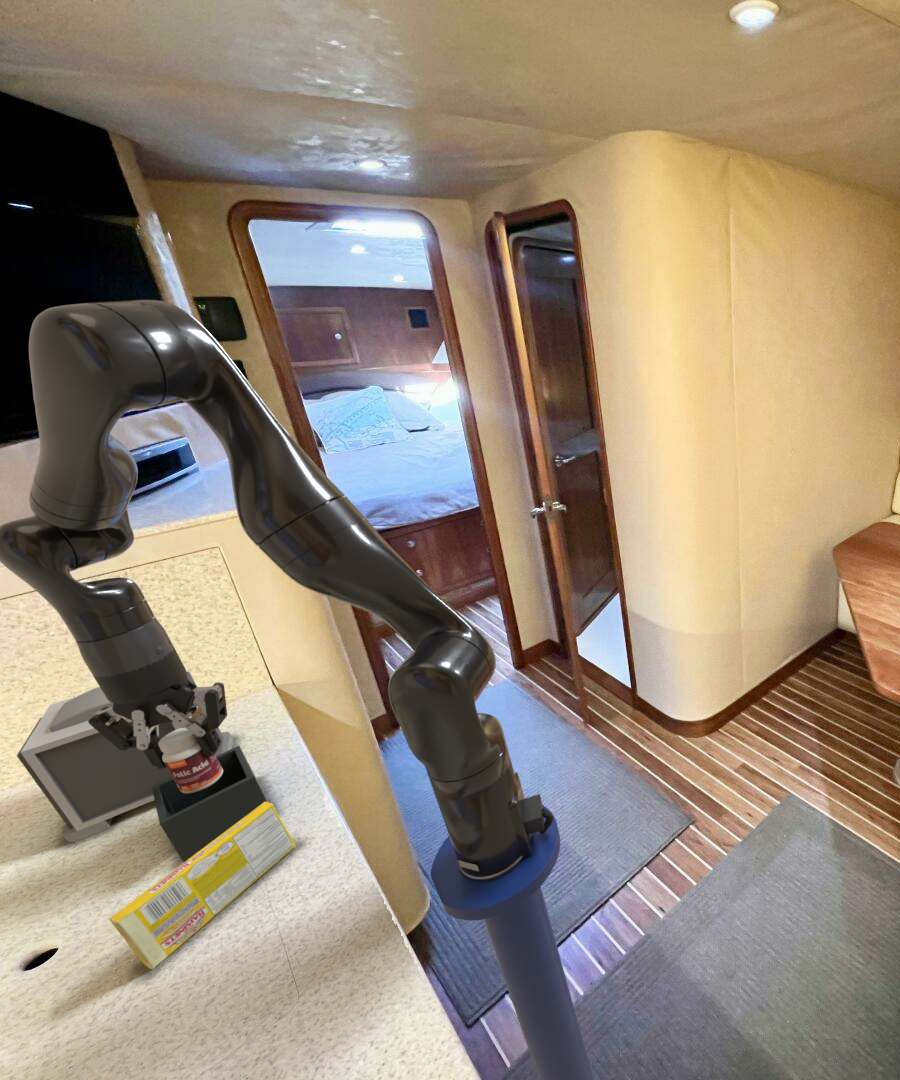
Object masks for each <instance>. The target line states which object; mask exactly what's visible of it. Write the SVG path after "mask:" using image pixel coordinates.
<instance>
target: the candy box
mask: <svg viewBox="0 0 900 1080" xmlns="http://www.w3.org/2000/svg"><path fill="white" fill-rule="evenodd" d="M296 848H297V845H296V842H295V841H294V839H293V837H292V836H291V834H290V833H289V831H288V830H287V827H286V826H285V824H284V822H283V821H282V819H281V817H280V815H279V813H278V812H277V810H276V808H275V805H274V804H273V803H272V802H268V801H267V802H264V803H262V804H261V805H260V806H258V807H257V808H256V809H254V810H253V811H252V812H250V813H249V814H248V815H246V816H245V817H244V818H242V819H241V820H240V821H238V822H237V823H236V824H234V825H233V826H232V827H230V828H229V829H228V830H227V831H225V832H224V833H223V834H221V835H220V836H219V837H217V838H216V839H215V840H213V841H212V842H211V843H209V844H208V845H207V846H205V847H204V848H203V849H201V850H200V851H199V852H197V853H196V854H195V855H193V856H192V857H191V858H189V859H188V860H187V861H185V862H183V863H181V864H180V865H178V866H177V867H176V868H175V869H174V870H172V871H170V873H168V874H167V875H164V877H163V878H161V879H160V880H158V881H157V882H156V883H155V884H152V886H151V887H149V888H148V889H146V890H145V891H144V892H143V893H142V894H140V895H138V897H136V898H134V899H133V900H132V901H131V902H129V903H128V904H126V905H125V906H124V907H123V908H121V909H119V911H118V912H116V913H115V914H113V915H111V917H109V918H108V920H109V922H110V923H111V924H112V925H113V927H114V928H115V929H116V931H117V932H118V933H119V934H120V936H121V937H122V938H123V940H124V941H125V942H126V943H127V944H128V945H129V947H130V948H131V950H132V951H133V952H134V954H135V955H136V956H137V958H138V959H139V960H140V962H141V963H142V964H143V965H144V966H145V967H146V968H148V969H150V970H153V969H155V968H156V967H157V966H158V965H159V964H161V963H162V962H164V960H165V959H167V958H168V957H169V956H170V955H171V954H172V953H174V952H175V951H176V950H177V949H178V948H179V947H181V946H182V945H183V944H184V943H185V942H186V941H188V939H190V938H191V937H192V936H193V935H194V934H196V933H198V931H199V930H201V929H202V928H203V927H204V926H205V925H207V924H208V922H210V921H211V920H212V919H214V918H215V916H216V915H218V914H219V913H220V912H221V911H222V910H224V909H225V908H227V906H228V905H229V904H231V903H232V902H233V901H234V900H235V899H237V898H238V897H239V896H240V895H241V894H242V893H244V891H246V890H247V889H248V888H249V887H251V886H252V885H253V884H254V883H255V882H256V881H258V880H259V879H260V878H261V877H262V876H263V875H265V874H266V873H267V872H268V871H269V870H270V869H272V868H273V867H274V866H275V865H276V864H278V863H279V861H281V860H282V859H283V858H284V857H286V856H287V855H288V854H289V853H290V852H292V851H293V850H294V849H296Z"/></svg>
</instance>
